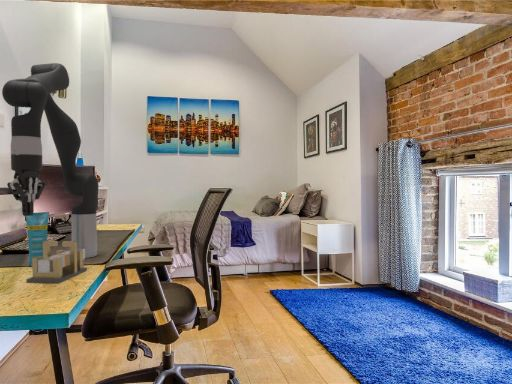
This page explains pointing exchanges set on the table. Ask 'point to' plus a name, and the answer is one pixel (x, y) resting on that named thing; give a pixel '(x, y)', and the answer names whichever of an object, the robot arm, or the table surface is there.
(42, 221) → the tube
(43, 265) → the rod
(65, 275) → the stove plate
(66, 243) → the bridge
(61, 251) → the tan bracket pieces
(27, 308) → the table surface
